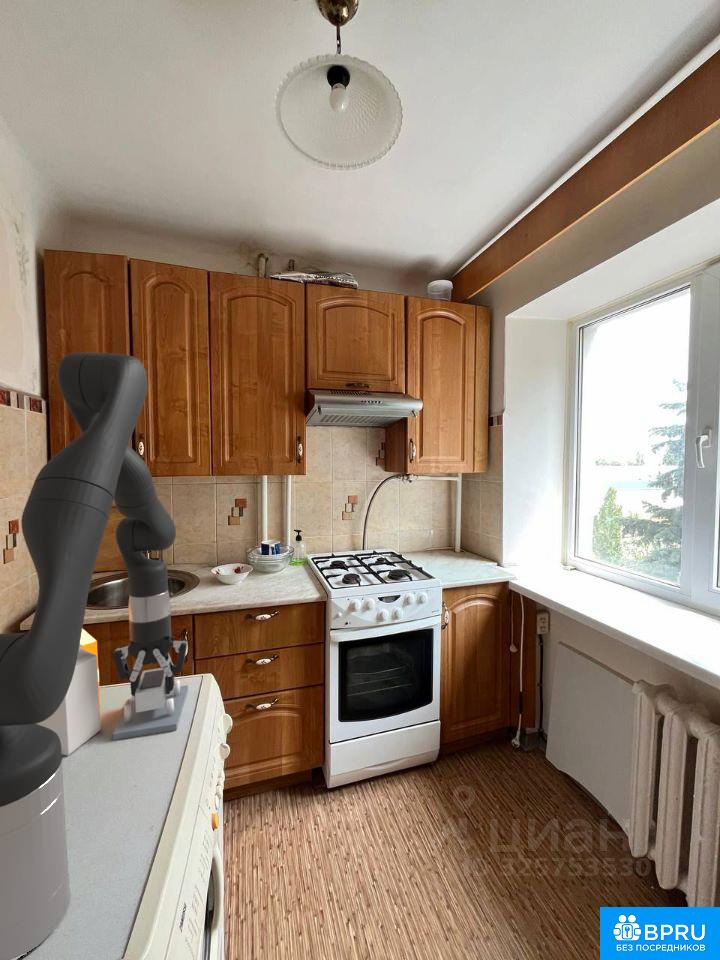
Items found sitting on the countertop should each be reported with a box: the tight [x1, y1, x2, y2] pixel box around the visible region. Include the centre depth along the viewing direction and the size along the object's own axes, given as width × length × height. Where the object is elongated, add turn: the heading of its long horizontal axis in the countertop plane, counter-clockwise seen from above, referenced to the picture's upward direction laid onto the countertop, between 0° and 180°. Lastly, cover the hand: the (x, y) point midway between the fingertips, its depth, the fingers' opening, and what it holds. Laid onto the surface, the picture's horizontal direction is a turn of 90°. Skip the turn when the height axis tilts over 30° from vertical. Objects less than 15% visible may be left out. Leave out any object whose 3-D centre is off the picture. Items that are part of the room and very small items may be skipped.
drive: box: [135, 667, 167, 713], centre depth 85 cm, size 9×5×4 cm, turn 19°
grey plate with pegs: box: [112, 679, 189, 741], centre depth 85 cm, size 14×11×4 cm
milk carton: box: [36, 644, 101, 756], centre depth 77 cm, size 7×7×19 cm
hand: (153, 693), depth 85 cm, fingers closed on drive, 5 cm apart
